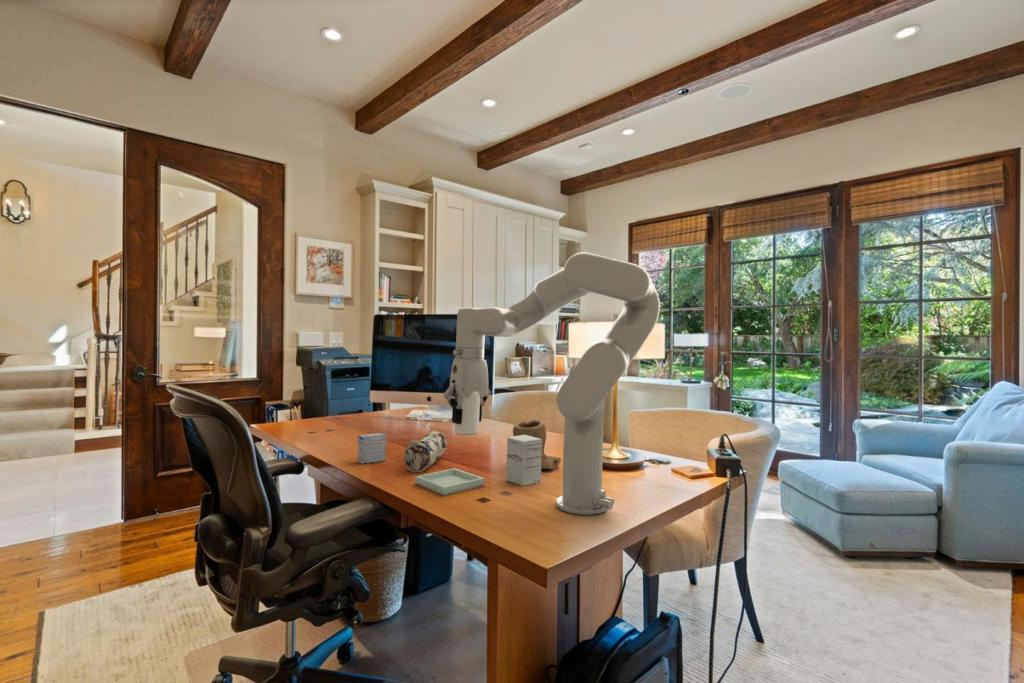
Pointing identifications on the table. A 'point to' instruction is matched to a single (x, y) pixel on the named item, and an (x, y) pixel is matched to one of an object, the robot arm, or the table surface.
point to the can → (469, 415)
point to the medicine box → (371, 448)
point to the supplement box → (524, 459)
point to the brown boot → (538, 431)
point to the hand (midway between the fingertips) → (466, 421)
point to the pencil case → (425, 451)
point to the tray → (449, 481)
